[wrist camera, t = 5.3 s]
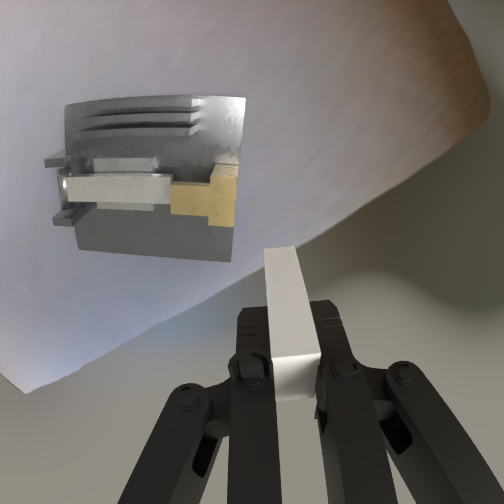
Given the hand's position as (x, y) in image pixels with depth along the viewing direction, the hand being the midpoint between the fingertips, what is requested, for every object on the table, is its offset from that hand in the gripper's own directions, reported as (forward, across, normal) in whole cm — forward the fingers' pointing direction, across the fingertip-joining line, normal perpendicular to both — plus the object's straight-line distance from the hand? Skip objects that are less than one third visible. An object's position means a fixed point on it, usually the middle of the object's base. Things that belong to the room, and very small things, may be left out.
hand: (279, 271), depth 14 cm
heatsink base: (+16, -11, +2) cm, 19 cm away
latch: (+12, -5, +1) cm, 13 cm away
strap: (+11, -14, +3) cm, 18 cm away
